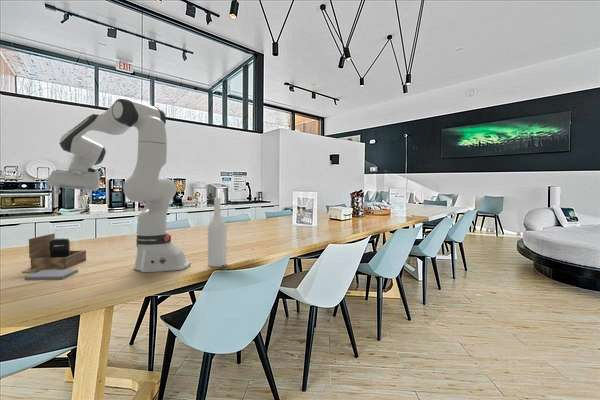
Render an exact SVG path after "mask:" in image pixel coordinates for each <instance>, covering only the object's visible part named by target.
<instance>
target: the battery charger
mask: <svg viewBox="0 0 600 400" xmlns="http://www.w3.org/2000/svg"><path fill="white" fill-rule="evenodd" d="M70 251H71V242H70V239H69V238H68V237H57V238H56V237H55V238H54V239H52V240H51V241H50V255H51V258H65V257H68V256H70Z"/></svg>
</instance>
